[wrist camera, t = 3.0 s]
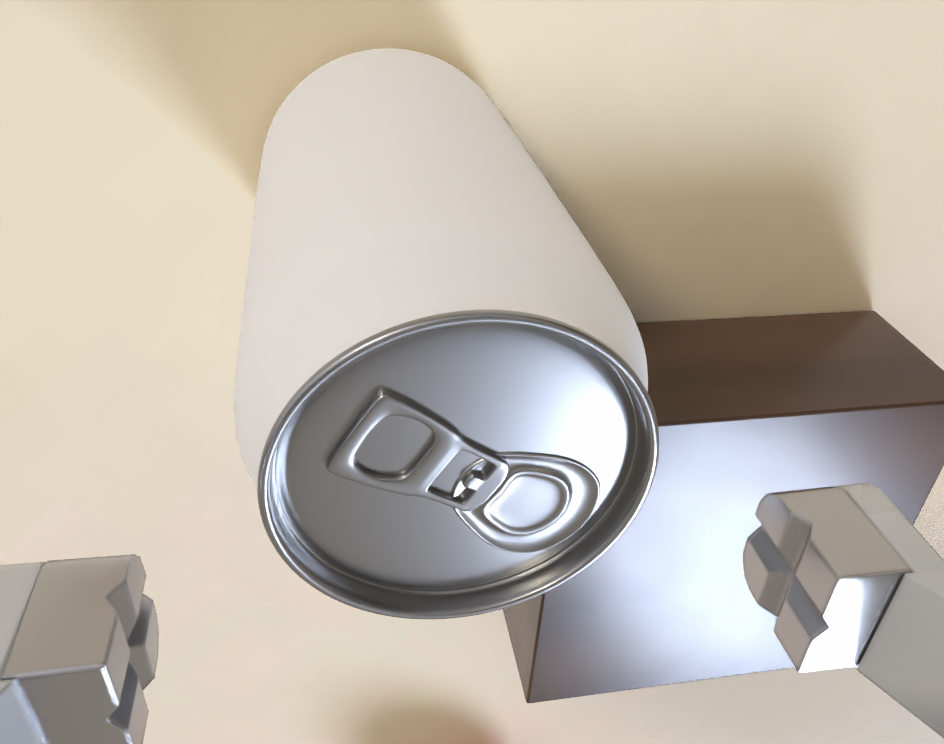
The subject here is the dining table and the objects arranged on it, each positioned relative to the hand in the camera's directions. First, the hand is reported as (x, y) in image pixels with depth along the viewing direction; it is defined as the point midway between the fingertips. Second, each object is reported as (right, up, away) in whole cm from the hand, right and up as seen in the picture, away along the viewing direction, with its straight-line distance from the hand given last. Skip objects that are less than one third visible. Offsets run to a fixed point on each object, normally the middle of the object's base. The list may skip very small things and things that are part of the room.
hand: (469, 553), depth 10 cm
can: (-2, +8, +10) cm, 13 cm away
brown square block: (+7, -1, +18) cm, 20 cm away
